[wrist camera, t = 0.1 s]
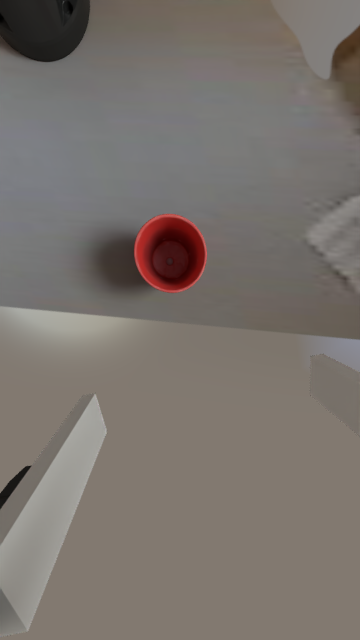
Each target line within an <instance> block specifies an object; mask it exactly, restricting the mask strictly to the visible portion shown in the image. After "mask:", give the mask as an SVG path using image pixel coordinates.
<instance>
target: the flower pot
mask: <svg viewBox="0 0 360 640" xmlns="http://www.w3.org/2000/svg"><path fill="white" fill-rule="evenodd" d="M134 258H135V263H136V266H137V268H138V271H139V273H140V274H141V276H142V277H143V278H144V280H145V281H146V282H147V283H148V284H149V285H151V286H152V287H154V288H156V289H158V290H160V291H163V292H168V293H177V292H181V291H184V290H186V289H188V288H190V287H191V286H193V285H194V284H195V283H196V282H197V281H198V279H199V278H200V277H201V275H202V273H203V271H204V268H205V265H206V260H207V249H206V244H205V241H204V238H203V236H202V234H201V232H200V231H199V230H198V228H197V227H196V226H195V225H194V224H193V223H192V222H191V221H189V220H188V219H186V218H184V217H182V216H179V215H175V214H163V215H159V216H156V217H154V218H152V219H150V220H149V221H148V222H146V223H145V224H144V225H143V226H142V228H141V229H140V231H139V233H138V235H137V237H136V240H135V244H134Z"/></svg>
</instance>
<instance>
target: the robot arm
mask: <svg viewBox="0 0 360 640" xmlns="http://www.w3.org/2000/svg"><path fill="white" fill-rule="evenodd" d="M89 11H90V0H0V35H1V36H2V37H3V38H4V39H5V41H6V42H7V43H8V44H10V45H11V46H12V47H13V48H14V49H16V50H17V51H18V52H20V53H22V54H23V55H25V56H27V57H30V58H32V59H36V60H41V61H53V60H57V59H60V58H63V57H65V56H67V55H68V54H70V53H71V52H72V51H73V50H74V49H75V48H76V47H77V46H78V44H79V43H80V41H81V40H82V38H83V36H84V33H85V31H86V28H87V24H88V19H89ZM310 396H312V397H313V398H314V399H315V400H317V401H318V402H319V403H320V404H321V405H323V406H324V407H325V408H326V409H327V410H328V411H330V412H331V413H332V414H333V415H335V416H336V417H337V418H338V419H339V420H340V421H342V422H343V423H344V424H345V425H346V426H348V427H349V428H350V429H351V430H352V431H354V432H355V433H356V434H357V435H358V436H360V372H358V371H356V370H354V369H352V368H350V367H348V366H346V365H344V364H342V363H340V362H338V361H336V360H334V359H332V358H330V357H328V356H326V355H324V354H320V355H314V356H311V365H310ZM106 432H107V430H106V427H105V423H104V420H103V417H102V414H101V410H100V407H99V404H98V400H97V397H96V394H89V395H83V396H82V397H81V398H80V400H79V401H78V402H77V404H76V405H75V407H74V408H73V409H72V411H71V412H70V414H69V415H68V416H67V418H66V419H65V421H64V422H63V423H62V425H61V426H60V427H59V429H58V430H57V432H56V433H55V434H54V436H53V437H52V438H51V440H50V441H49V443H48V444H47V445H46V447H45V448H44V450H43V451H42V452H41V454H40V455H39V456H38V458H37V459H36V461H35V462H34V463H33V465H32V466H26V467H25V468H23V469H22V470H21V471H20V472H19V473H18V474H17V475H16V476H15V477H14V478H13V479H12V480H11V481H10V482H9V483H8V484H7V486H6V487H5V488H4V489H3V491H2V492H1V493H0V637H2V636H6V635H11V634H17V633H22V632H26V631H28V629H29V627H30V624H31V622H32V619H33V617H34V614H35V612H36V609H37V607H38V604H39V602H40V599H41V597H42V594H43V592H44V589H45V586H46V584H47V582H48V579H49V577H50V574H51V571H52V569H53V566H54V564H55V561H56V559H57V556H58V554H59V551H60V549H61V546H62V544H63V541H64V539H65V536H66V534H67V531H68V528H69V526H70V523H71V521H72V518H73V516H74V513H75V511H76V508H77V506H78V503H79V501H80V498H81V496H82V493H83V490H84V488H85V485H86V483H87V480H88V478H89V475H90V473H91V470H92V468H93V465H94V463H95V460H96V458H97V455H98V453H99V450H100V448H101V445H102V443H103V440H104V437H105V435H106Z"/></svg>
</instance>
